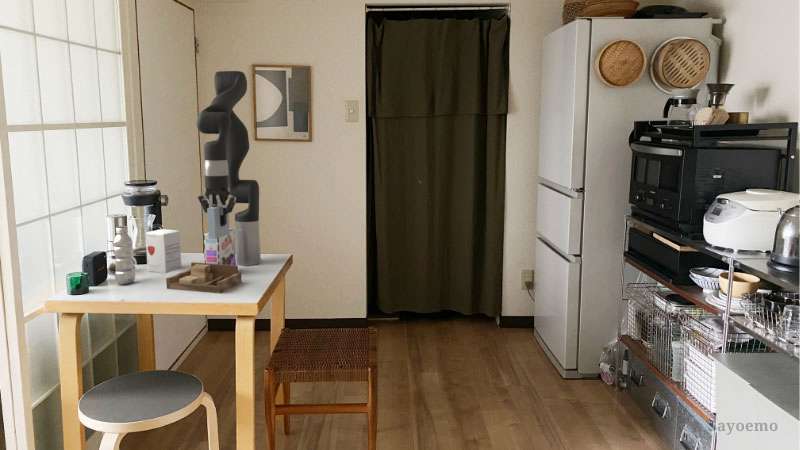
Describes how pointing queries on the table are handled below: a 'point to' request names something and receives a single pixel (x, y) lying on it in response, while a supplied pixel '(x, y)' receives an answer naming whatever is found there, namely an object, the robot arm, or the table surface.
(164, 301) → the table surface
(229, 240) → the candy box
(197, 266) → the offcut
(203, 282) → the offcut
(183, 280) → the offcut
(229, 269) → the tray
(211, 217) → the board
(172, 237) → the supplement box
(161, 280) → the table surface
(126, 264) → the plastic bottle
